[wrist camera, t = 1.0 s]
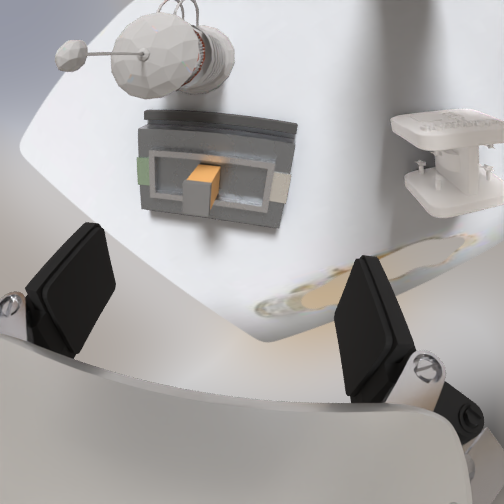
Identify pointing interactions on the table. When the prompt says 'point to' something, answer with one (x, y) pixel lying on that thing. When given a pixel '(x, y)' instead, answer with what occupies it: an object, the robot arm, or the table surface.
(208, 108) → the table surface
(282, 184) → the panel
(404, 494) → the robot arm
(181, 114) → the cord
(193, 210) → the lever
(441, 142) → the cable organizer
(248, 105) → the table surface
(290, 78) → the table surface
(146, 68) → the french press
